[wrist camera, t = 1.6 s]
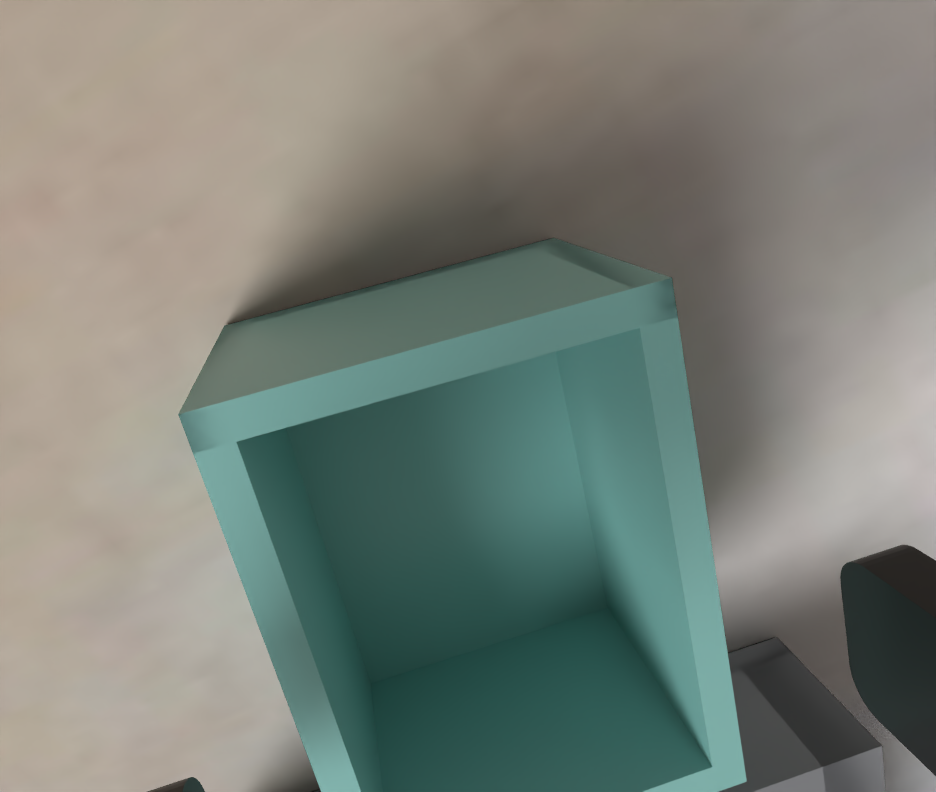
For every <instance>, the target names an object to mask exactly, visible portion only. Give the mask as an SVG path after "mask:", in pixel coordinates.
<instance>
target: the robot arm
mask: <svg viewBox="0 0 936 792" xmlns="http://www.w3.org/2000/svg"><path fill="white" fill-rule="evenodd" d="M840 578H841V590H842V599H843V608H844V618H845V627H846V636H847V645H848V654H849V663H850V669H851V673H852V677H853V680H854V683H855V685H856V687H857V690H858V692H859V694H860V696H861V698H862V699H863V701H864V703H865V704H866V706H867V707H868V709H869V710H870V711H871V713H872V714H873V715H874V716H875V717H876V718H877V719H878V721H879V722H880V723H881V724H883V725H884V726H885V727H886V728H887V729H888V730H889V731H890V732H891V733H892V734H893V735H894V736H895V737H896V738H897V739H898V740H899V741H900V742H901V743H902V744H903V745H904V746H905V747H906V748H907V749H908V750H909V751H910V752H911V753H913V754H914V755H915V756H916V757H917V758H918V759H919V760H920V761H921V762H922V763H923V764H924V765H925V766H926V767H927V768H928V769H929V770H930V771H931V772H932V773H933V774H934V775H935V776H936V561H935V560H934V559H932V558H930V557H929V556H927V555H926V554H924V553H922V552H921V551H919V550H917V549H916V548H914V547H911V546H908V545H900V546H897V547H894V548H891V549H888V550H885V551H882V552H879V553H876V554H873V555H870V556H867V557H864V558H861V559H857V560H854V561H851V562H848V563H846V564H845V565H844V566H843V568H842V571H841V577H840ZM148 792H205V791H204V789H203V787H202V785H201V784H200V782H199V781H198V780H197V779H196V778H194V777H190V778H187V779H184V780H181V781H178V782H175V783H172V784H169V785H166V786H163V787H160V788H157V789H154V790H151V791H148Z"/></svg>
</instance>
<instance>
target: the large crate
mask: <svg viewBox="0 0 936 792" xmlns="http://www.w3.org/2000/svg"><path fill="white" fill-rule="evenodd" d="M728 659H729V665H730V672H731V679H732V686H733V692H734V699H735V706H736V712H737V719H738V726H739V733H740V739H741V746H742V753H743V759H744V766H745V773H746V780H747V782H744V783H741V784H739V785H736V786H733V787H730V788H727V789H724V790H722V791H719V792H886V791H885V778H884V765H883V751H882V745H881V744H880V743H879V742H878V741H877V740H876V739H875V738H874V737H873V736H872V735H871V734H870V733H869V732H868V731H867V730H866V729H865V728H864V727H863V726H862V725H861V724H860V723H859V721H858V720H857V719H856V718H855V717H854V716H853V715H852V714H851V713H850V712H849V711H848V710H847V709H846V708H845V707H844V706H843V705H842V704H841V703H840V702H839V701H838V700H837V699H836V698H835V697H834V696H833V695H832V694H831V693H830V691H829V690H828V689H827V688H826V687H825V686H824V685H823V684H822V683H821V682H820V681H819V680H818V679H817V678H816V677H815V676H814V675H813V674H812V673H811V672H810V671H809V670H808V669H807V668H806V667H805V666H804V665H803V664H802V663H801V661H800V660H799V659H798V658H797V657H796V656H795V655H794V654H793V653H792V652H791V651H790V650H789V649H788V648H787V647H786V646H785V645H784V644H783V643H782V642H781V641H780V640H779V639H778V638H777V637H776V638H773V639H770V640H767V641H764V642H761V643H758V644H755V645H752V646H749V647H746V648H743V649H740V650H737V651H734V652H731V653H728ZM314 792H321V790H317V791H314Z"/></svg>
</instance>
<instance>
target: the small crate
mask: <svg viewBox="0 0 936 792" xmlns="http://www.w3.org/2000/svg"><path fill="white" fill-rule="evenodd" d="M178 415H179V417H180V420H181V423H182V425H183V428H184V431H185V433H186V436H187V439H188V441H189V444H190V446H191V449H192V452H193V454H194V457H195V460H196V462H197V465H198V468H199V470H200V473H201V476H202V478H203V481H204V483H205V486H206V489H207V491H208V494H209V497H210V499H211V502H212V505H213V507H214V510H215V513H216V515H217V518H218V520H219V523H220V526H221V528H222V531H223V534H224V536H225V539H226V542H227V544H228V547H229V550H230V552H231V555H232V557H233V560H234V563H235V565H236V568H237V571H238V573H239V576H240V579H241V581H242V584H243V587H244V589H245V592H246V594H247V597H248V600H249V602H250V605H251V608H252V610H253V613H254V616H255V618H256V621H257V624H258V626H259V629H260V631H261V634H262V637H263V639H264V642H265V645H266V647H267V650H268V653H269V655H270V658H271V660H272V663H273V666H274V668H275V671H276V674H277V676H278V679H279V682H280V684H281V687H282V690H283V692H284V695H285V697H286V700H287V703H288V705H289V708H290V711H291V713H292V716H293V719H294V721H295V724H296V727H297V729H298V732H299V734H300V737H301V740H302V742H303V745H304V748H305V750H306V753H307V756H308V758H309V761H310V764H311V766H312V769H313V771H314V774H315V777H316V779H317V782H318V785H319V787H320V790H321V792H719V791H722V790H724V789H727V788H730V787H733V786H736V785H739V784H741V783H744V782H747V780H746V773H745V766H744V759H743V753H742V746H741V739H740V733H739V726H738V719H737V712H736V706H735V699H734V692H733V686H732V679H731V672H730V665H729V659H728V652H727V645H726V638H725V632H724V625H723V618H722V612H721V605H720V598H719V591H718V585H717V578H716V571H715V564H714V558H713V551H712V544H711V538H710V531H709V524H708V517H707V511H706V504H705V497H704V491H703V484H702V477H701V470H700V464H699V457H698V450H697V443H696V437H695V430H694V423H693V417H692V410H691V403H690V396H689V390H688V383H687V376H686V370H685V363H684V356H683V349H682V343H681V336H680V329H679V322H678V316H677V309H676V302H675V296H674V289H673V282H672V278H671V277H668V276H665V275H662V274H659V273H656V272H653V271H651V270H648V269H645V268H642V267H639V266H636V265H633V264H630V263H627V262H624V261H621V260H618V259H615V258H612V257H609V256H606V255H603V254H600V253H597V252H594V251H591V250H588V249H585V248H582V247H579V246H576V245H573V244H570V243H567V242H564V241H561V240H558V239H555V238H551V239H547V240H543V241H540V242H536V243H532V244H528V245H525V246H521V247H517V248H513V249H510V250H506V251H502V252H498V253H495V254H491V255H487V256H483V257H480V258H476V259H472V260H468V261H465V262H461V263H457V264H453V265H450V266H446V267H442V268H438V269H435V270H431V271H427V272H423V273H420V274H416V275H412V276H408V277H405V278H401V279H397V280H393V281H390V282H386V283H382V284H378V285H375V286H371V287H367V288H363V289H360V290H356V291H352V292H349V293H345V294H341V295H337V296H334V297H330V298H326V299H322V300H319V301H315V302H311V303H307V304H304V305H300V306H296V307H292V308H289V309H285V310H281V311H277V312H274V313H270V314H266V315H262V316H259V317H255V318H251V319H247V320H244V321H240V322H236V323H232V324H229V325H225V326H224V328H223V330H222V331H221V333H220V335H219V337H218V339H217V341H216V343H215V345H214V347H213V349H212V351H211V353H210V355H209V356H208V358H207V360H206V362H205V364H204V366H203V368H202V370H201V372H200V374H199V376H198V378H197V380H196V381H195V383H194V385H193V387H192V389H191V391H190V393H189V395H188V397H187V399H186V401H185V403H184V404H183V406H182V408H181V410H180V412H179V414H178Z"/></svg>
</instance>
